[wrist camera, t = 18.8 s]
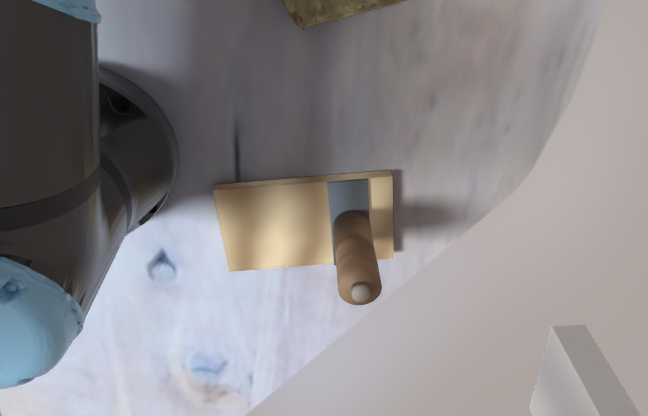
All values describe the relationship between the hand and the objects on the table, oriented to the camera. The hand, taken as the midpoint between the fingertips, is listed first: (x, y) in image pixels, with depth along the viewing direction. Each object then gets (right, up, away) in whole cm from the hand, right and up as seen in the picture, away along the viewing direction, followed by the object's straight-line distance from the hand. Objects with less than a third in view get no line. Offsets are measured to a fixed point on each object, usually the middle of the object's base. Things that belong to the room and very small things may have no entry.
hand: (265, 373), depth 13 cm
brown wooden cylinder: (+4, +2, +38) cm, 38 cm away
